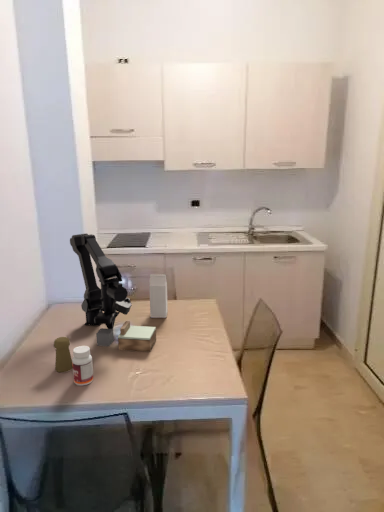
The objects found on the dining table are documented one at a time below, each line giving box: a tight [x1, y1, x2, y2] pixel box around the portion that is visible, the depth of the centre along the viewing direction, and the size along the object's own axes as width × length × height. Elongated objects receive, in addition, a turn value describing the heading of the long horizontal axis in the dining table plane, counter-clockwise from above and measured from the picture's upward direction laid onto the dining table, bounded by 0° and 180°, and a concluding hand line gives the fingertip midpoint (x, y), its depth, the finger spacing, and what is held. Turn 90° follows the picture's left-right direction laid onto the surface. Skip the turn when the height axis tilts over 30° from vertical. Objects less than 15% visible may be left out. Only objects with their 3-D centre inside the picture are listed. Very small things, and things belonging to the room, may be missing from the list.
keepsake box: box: [117, 328, 157, 353], centre depth 157 cm, size 12×10×4 cm
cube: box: [95, 327, 115, 347], centre depth 159 cm, size 5×5×5 cm
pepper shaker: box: [53, 336, 73, 373], centre depth 140 cm, size 6×6×11 cm
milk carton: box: [148, 274, 168, 319], centre depth 184 cm, size 7×7×19 cm
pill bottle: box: [71, 345, 94, 386], centre depth 132 cm, size 6×6×11 cm
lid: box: [117, 320, 157, 340], centre depth 156 cm, size 12×10×3 cm
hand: (111, 331), depth 166 cm, fingers closed
